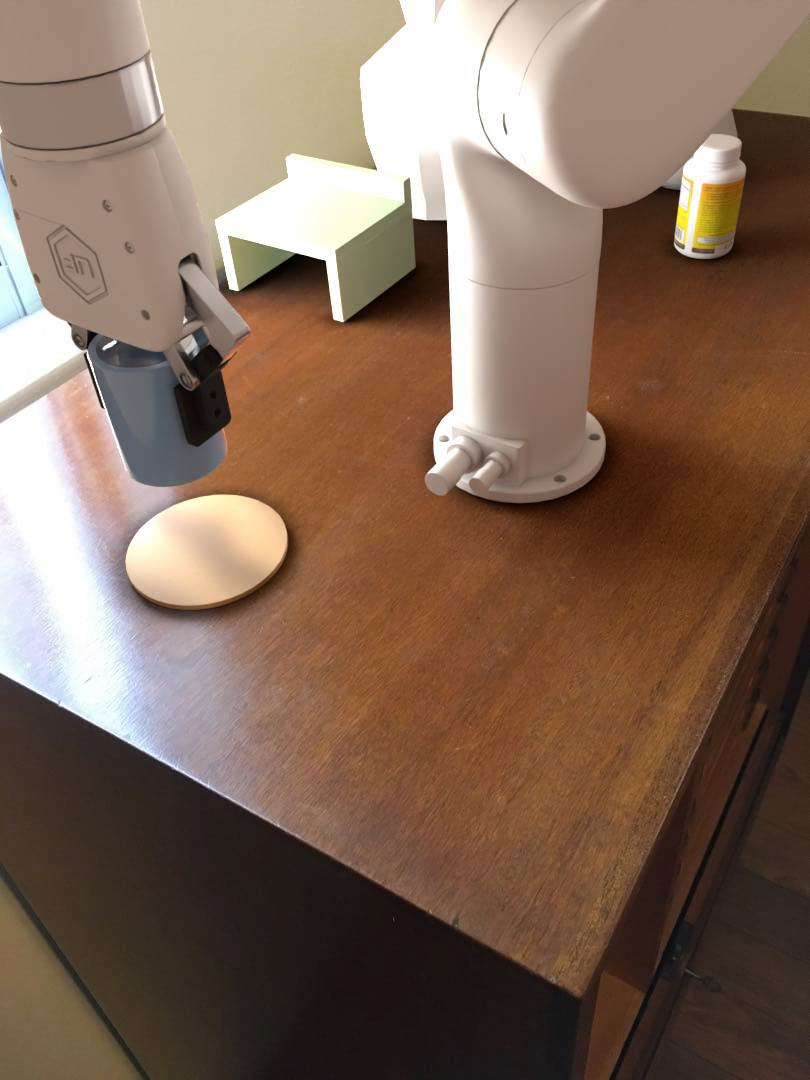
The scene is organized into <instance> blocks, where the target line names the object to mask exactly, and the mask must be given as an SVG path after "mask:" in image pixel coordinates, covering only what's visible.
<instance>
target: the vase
mask: <svg viewBox="0 0 810 1080" xmlns="http://www.w3.org/2000/svg"><path fill="white" fill-rule="evenodd" d="M445 1H446V0H399V2H400V5H401V8H402V12H403V15H404V19H405V22H406V24H405V25H404V26H403V27H402V28H401V29H400V30H399V31H398V32H397V33H395V34H394V35H393V36H392V37H391V38H390V40H388V41H387V42H386V43H385V44H384V45H383V46H382V47H381V48H380V49H378V51H376V53H374V54H373V56H372V57H370V59H368V60H367V61H366V62H365V63H364V64H363V65H362V66H361V67H360V77H359V81H360V91H361V92H360V93H361V102H362V114H363V122H364V130H365V137H366V140H367V144H368V146H369V148H370V149H369V150H370V152H371V155H372V157H373V160H374V163H375V166H376V170H377V171H382V172H387V173H392V174H397V175H402V176H407V177H410V182H411V198H412V215H413V219H416V220H424V221H447V208H446V195H445V185H444V176H443V168H442V161H441V155H440V149H439V144H438V138H437V133H436V128H435V122H434V117H433V111H432V105H431V98H430V89H429V66H428V65H429V51H430V43H431V39H432V34H433V30H434V27H435V23H436V20H437V18H438V15H439V13H440V11H441V9H442V7H443V5H444V3H445Z"/></svg>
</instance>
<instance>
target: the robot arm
mask: <svg viewBox="0 0 810 1080" xmlns="http://www.w3.org/2000/svg"><path fill="white" fill-rule="evenodd" d="M809 17H810V0H446V1H445V3H444V5H443V7H442V9H441V11H440V13H439V15H438V18H437V20H436V23H435V27H434V30H433V34H432V39H431V43H430V51H429V65H428V66H429V89H430V98H431V105H432V111H433V117H434V122H435V128H436V133H437V138H438V144H439V149H440V155H441V161H442V168H443V176H444V185H445V195H446V208H447V220H446V223H447V225H446V226H447V249H448V250H447V251H448V283H449V285H448V286H449V309H450V312H449V313H450V336H451V337H450V340H451V341H450V342H451V370H452V397H453V398H452V400H453V401H452V403H453V409H451V410H450V411H449V412H448V413H447V414H445V416H444V417H443V418H442V419H441V421H440V423H439V424H438V425H437V427H436V429H435V432H434V436H433V454H434V460H435V463H436V464H435V465H434V466H433V467H432V468H431V469H430V470H429V471H428V472H427V473H426V474H425V475H424V484H425V486H426V487H427V489H428V490H429V491H430V492H431V494H434V495H435V496H438V497H445V496H446V495H448V493H450V491H451V490H452V489H453V488H454V487H455V486H456V487H457V488H459V489H461V490H462V491H464V492H466V493H468V494H471V495H473V496H477V497H480V498H483V499H485V500H490V501H494V502H500V503H510V504H528V503H540V502H545V501H550V500H555V499H558V498H560V497H563V496H566V495H569V494H571V493H573V492H575V491H577V490H578V489H581V488H583V487H584V486H585V485H587V484H588V483H589V482H590V481H591V480H592V479H594V477H596V475H597V474H598V473H599V471H600V470H601V468H602V465H603V463H604V460H605V455H606V454H605V453H606V447H607V445H606V443H607V442H606V435H605V432H604V429H603V426H602V425H601V423H600V422H599V421H598V419H597V418H596V417H595V416H594V415H593V414H592V413H590V411H589V410H588V402H589V390H590V389H589V388H590V377H591V365H592V353H593V342H594V331H595V329H594V328H595V319H596V306H597V294H598V284H599V273H600V271H599V270H600V258H601V255H602V254H601V253H602V240H603V226H604V225H603V223H604V220H603V218H604V217H603V215H604V213H603V211H604V210H606V209H616V208H621V207H624V206H628V205H630V204H633V203H636V202H638V201H639V200H641V199H643V198H646V197H647V196H648V195H650V194H652V193H654V192H655V191H657V190H658V189H659V188H661V187H662V186H661V185H663V184H664V183H665V182H666V181H667V180H669V179H670V178H671V177H672V176H673V175H674V174H675V173H677V172H678V170H679V169H680V168H681V167H682V166H683V165H684V164H685V163H686V162H687V161H688V160H689V159H690V158H691V157H692V156H693V155H694V153H695V152H696V151H697V150H698V149H699V148H700V147H701V145H702V144H703V143H704V142H705V141H706V140H707V138H708V137H709V136H710V135H711V134H712V132H713V131H714V130H715V129H716V128H717V127H718V125H719V124H720V123H721V122H722V121H723V119H724V118H725V117H726V116H727V115H728V113H729V112H730V111H731V110H732V111H733V109H734V107H735V106H736V105H737V104H738V103H739V101H741V99H742V98H743V97H744V95H745V94H746V93H747V92H748V91H749V89H750V88H751V87H752V85H753V84H754V83H755V82H756V81H757V79H758V78H759V77H760V76H761V75H762V73H763V72H764V71H765V70H766V69H767V68H768V66H769V65H770V64H771V63H772V61H773V60H774V59H775V58H776V56H778V54H779V53H780V52H781V51H782V49H784V47H785V46H786V44H787V43H788V42H789V41H790V40H791V39H792V38H793V36H794V35H795V34H796V32H797V31H798V29H799V28H800V27H801V26H802V25H803V23H805V21H806V20H807V19H808V18H809ZM150 45H151V44H150V40H149V37H148V33H147V27H146V23H145V18H144V14H143V10H142V5H141V1H140V0H0V130H1V132H0V151H1V152H0V153H1V159H2V165H3V171H4V177H5V183H6V186H7V187H6V188H7V193H8V196H9V200H10V205H11V209H12V212H13V217H14V220H15V224H16V228H17V232H18V234H19V235H18V236H19V237H20V242H21V246H22V249H23V251H24V254H25V259H26V262H27V266H28V269H29V272H30V274H31V278H32V280H33V284H34V287H35V290H36V292H37V295H38V297H39V300H40V302H41V304H42V306H43V308H45V310H46V311H47V312H48V313H50V314H51V315H52V316H54V317H56V318H57V319H60V320H62V321H64V322H66V323H67V325H68V326H69V327H70V329H71V330H70V337H71V340H72V342H73V343H74V345H75V346H76V348H78V350H80V351H86V352H84V353H83V354H82V356H83V358H84V361H85V364H86V366H87V369H88V373H89V376H90V379H91V382H92V385H93V388H94V391H95V394H96V397H97V400H98V403H99V406H100V408H101V409H103V410H105V407H104V404H103V401H102V398H101V395H100V392H99V389H98V386H97V383H96V380H95V377H94V374H93V371H92V367H91V364H90V361H89V358H88V355H87V351H88V346H89V344H90V342H91V341H92V340H93V338H94V337H95V336H96V335H97V334H101V335H104V336H107V337H110V338H112V339H115V340H118V341H121V342H124V343H127V344H129V345H132V346H135V347H138V348H141V349H145V350H148V351H154V352H163V354H164V355H165V357H166V359H167V361H168V362H169V364H170V366H171V368H172V370H173V371H174V373H175V375H176V377H177V378H178V380H179V382H180V383H179V384H178V385H176V386H175V387H174V388H173V390H174V395H175V399H176V403H177V406H178V410H179V414H180V418H181V421H182V425H183V429H184V433H185V437H186V440H187V442H188V444H190V445H193V446H195V447H199V446H201V445H202V444H203V443H205V442H206V441H207V440H208V439H210V438H211V437H212V436H214V435H215V434H216V433H218V432H219V431H220V430H221V429H223V428H224V429H225V428H226V427H227V426H229V424H230V423H231V421H232V412H231V408H230V403H229V400H228V395H227V391H226V385H225V382H224V376H223V371H222V370H224V369H225V368H227V366H228V365H229V362H230V361H231V360H232V359H233V358H234V356H236V354H237V353H238V350H240V349H241V347H242V346H243V345H244V344H245V342H246V341H247V340H248V339H249V337H250V336H251V328H250V326H249V325H248V323H247V322H246V321H245V320H244V319H243V317H242V316H241V315H240V314H239V312H237V310H236V309H235V308H234V307H233V305H232V304H231V303H230V302H229V300H227V298H225V296H224V295H223V294H222V293H221V291H220V288H219V280H218V274H217V271H216V270H217V269H216V265H215V262H214V261H215V260H214V257H213V251H212V248H211V245H210V241H209V237H208V233H207V229H206V225H205V221H204V218H203V215H202V212H201V208H200V206H199V202H198V198H197V195H196V193H195V189H194V186H193V183H192V181H191V177H190V175H189V172H188V169H187V166H186V164H185V161H184V158H183V155H182V153H181V150H180V148H179V145H178V143H177V141H176V138H175V136H174V134H173V131H172V129H170V128H169V127H168V128H167V127H166V126H167V118H166V114H165V110H164V106H163V101H162V97H161V96H162V95H161V92H160V88H159V87H160V86H159V83H158V79H157V73H156V70H155V65H154V60H153V56H152V52H151V51H152V50H151V46H150ZM184 317H185V318H186V320H184ZM191 334H192V336H193V338H194V339H195V341H196V343H197V345H198V347H199V349H200V351H199V352H198V353H197V355H196V356H195V357H194V358H193V359H192V360H190V358H189V357H188V355H187V353H186V351H185V349H184V347H183V346H182V344H181V342H180V341H181V340H183V339H184V338H186V337H187V336H189V335H191Z"/></svg>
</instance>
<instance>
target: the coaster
mask: <svg viewBox="0 0 810 1080" xmlns="http://www.w3.org/2000/svg"><path fill="white" fill-rule="evenodd" d="M288 548H289V534H288V531H287V526H286V524H285V522H284V520H283V518H282V517H281V515H280V514H279V513H278V512H276V511H275V509H274V508H272V507H271V506H270V505H268V504H266V503H265V502H262V501H260V500H258V499H255V498H252V497H248V496H243V495H237V494H210V495H204V496H199V497H194V498H190V499H187V500H184V501H182V502H179V503H177V504H173V505H171V506H170V507H168V508H166V509H164V510H163V511H160V512H159V513H157V514H156V515H155V516H153V517H152V518H150V519H149V520H148V521H147V522H146V523H144V524H143V526H141V528H139V530H138V531H137V532H136V533H135V535H134V536H133V538H132V540H131V541H130V543H129V545H128V548H127V551H126V554H125V561H124V562H125V571H126V575H127V577H128V580H129V582H130V584H131V585H132V587H133V588H134V590H135V591H136V592H137V593H138V594H139V595H141V596H142V597H143V598H145V599H146V600H148V602H151V603H154V604H155V605H158V606H161V607H165V608H168V609H175V610H184V611H194V610H195V611H196V610H197V611H198V610H206V609H213V608H217V607H221V606H225V605H228V604H231V603H234V602H236V601H238V600H239V601H240V600H241V599H244V598H245V597H247V596H249V595H251V594H252V593H254V592H256V591H257V590H259V589H260V588H261V587H263V586H264V585H265V584H267V583H268V582H269V581H270V580H271V579H272V578H273V577H274V575H276V573H277V572H278V571H279V569H280V568H281V566H282V565H283V563H284V561H285V559H286V556H287V553H288Z"/></svg>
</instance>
